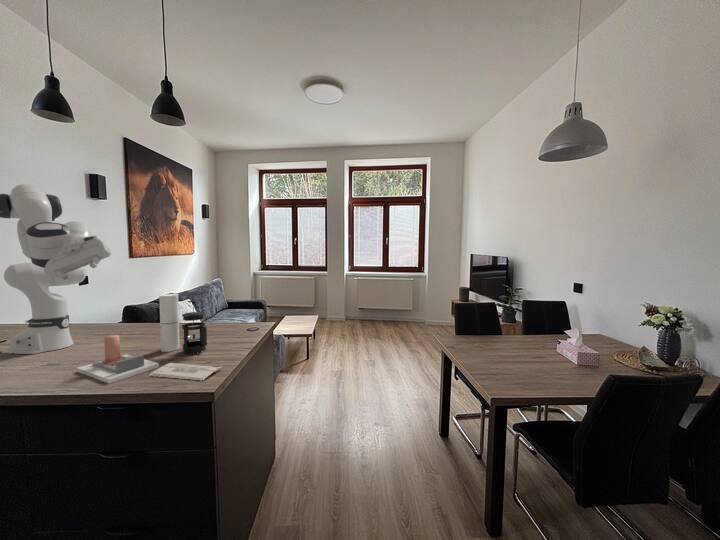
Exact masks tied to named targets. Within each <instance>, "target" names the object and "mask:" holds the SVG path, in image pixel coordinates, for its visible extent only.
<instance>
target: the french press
mask: <svg viewBox="0 0 720 540" xmlns="http://www.w3.org/2000/svg"><path fill="white" fill-rule="evenodd" d="M187 302H188V303H192V304H191V305H192V312H186V313H183V314H181V316H182V320H183V321H185V322H188V323H183V324H182V326H181V329H182V330H183V338H182V339H183V343H182V352H181V353H182V354H183V353H184V354H183V355H194V354H193V353H197V352H201V351H203V350H205V349H206V350H207V347H206V346H207V345H208V343H207V342H208V339H207V338H208V336H207V335H208V334H207V333H208V331H207V329H208V328H207V325H206V323H205V322H199V320H203V319H204V318H205V314H206V313H205V312H203V311H195V305H196V304H195V303H197V302H198V303H199V300H198V299H190V300H188V301H187ZM189 321H190V322H189ZM191 321H193V322H191ZM197 321H198V322H197ZM196 330H199V334H197V333H196V334H195V332H193V334H191V335H190V334H189V331H196ZM206 350H205V351H206ZM201 353H202V352H201ZM197 354H198V353H197Z"/></svg>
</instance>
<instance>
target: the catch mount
mask: <svg viewBox="0 0 720 540" xmlns="http://www.w3.org/2000/svg"><path fill="white" fill-rule="evenodd" d="M120 358H123V359H124V360H121V361H117V362H115V365H111V366H110V365H107V364H104V363H102V362H101V361H102V360H100V361H97V360H95V361H92V363H90V364H85V365H82V366H78V367H76V372H77V373H79V374H82V375H84V374H85V376H87V377H90V378H92V377H93V379H95V380H97V381H101V382H104V383H106V384H108V385H110V384H112V383H115V382H119V381H122V380H125V379H128V378H130V377H134V376H137V375H139V374H142V373H146V372H149V371H152V370H156V369H159V368H160V364H159V362H155V361H152V360H148V359H145V354H144V355H143V354H140V355H139V354H138V355H135V356H134V355H130V354H123V355H120Z"/></svg>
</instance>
